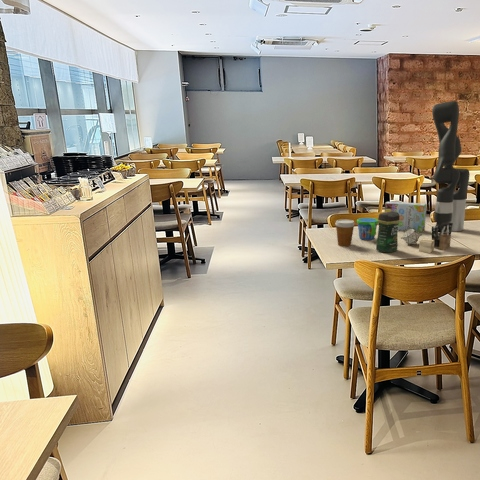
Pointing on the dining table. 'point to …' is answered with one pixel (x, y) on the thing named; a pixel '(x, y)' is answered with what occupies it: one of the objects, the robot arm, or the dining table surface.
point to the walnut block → (444, 241)
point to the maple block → (426, 245)
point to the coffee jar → (387, 232)
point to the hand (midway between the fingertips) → (440, 245)
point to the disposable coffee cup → (344, 231)
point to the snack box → (408, 215)
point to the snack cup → (367, 228)
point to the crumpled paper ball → (411, 236)
